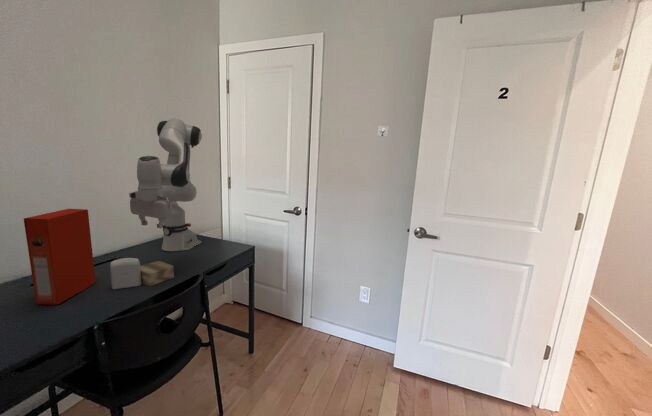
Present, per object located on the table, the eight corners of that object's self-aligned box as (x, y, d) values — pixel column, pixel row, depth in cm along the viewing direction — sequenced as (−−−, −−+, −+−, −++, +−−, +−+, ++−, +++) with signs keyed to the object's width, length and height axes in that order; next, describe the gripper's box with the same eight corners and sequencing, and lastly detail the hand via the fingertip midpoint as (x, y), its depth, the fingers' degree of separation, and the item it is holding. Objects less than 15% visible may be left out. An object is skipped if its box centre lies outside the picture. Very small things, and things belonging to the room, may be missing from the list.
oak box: (159, 272, 133) (159, 260, 132) (174, 278, 128) (173, 266, 127) (135, 280, 123) (134, 267, 122) (149, 287, 118) (148, 274, 117)
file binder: (35, 304, 101) (23, 217, 95) (75, 282, 118) (67, 208, 112) (58, 305, 101) (48, 219, 95) (95, 283, 118) (88, 209, 112)
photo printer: (110, 290, 113) (108, 261, 111) (112, 285, 117) (110, 258, 115) (140, 286, 118) (139, 259, 116) (142, 282, 122) (140, 255, 119)
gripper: (175, 196, 118) (176, 228, 121) (140, 191, 124) (141, 222, 127) (163, 198, 112) (164, 231, 115) (126, 193, 118) (128, 224, 121)
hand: (152, 226), depth 121 cm, fingers open, 7 cm apart
